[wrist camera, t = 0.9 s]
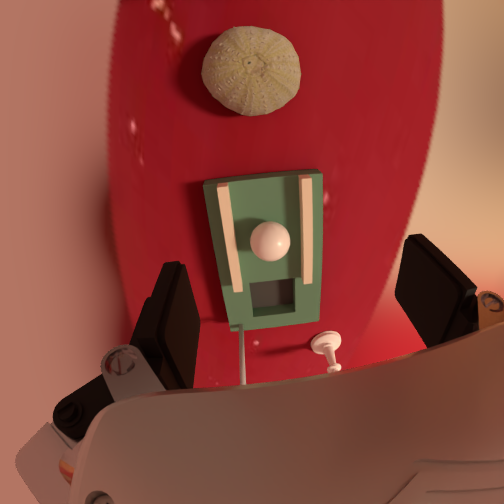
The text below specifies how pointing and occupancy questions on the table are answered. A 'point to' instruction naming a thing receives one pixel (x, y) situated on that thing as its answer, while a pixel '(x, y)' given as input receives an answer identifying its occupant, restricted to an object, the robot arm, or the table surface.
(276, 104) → the sea urchin shell
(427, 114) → the table surface
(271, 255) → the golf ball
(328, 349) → the chess piece
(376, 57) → the table surface
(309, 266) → the mat
